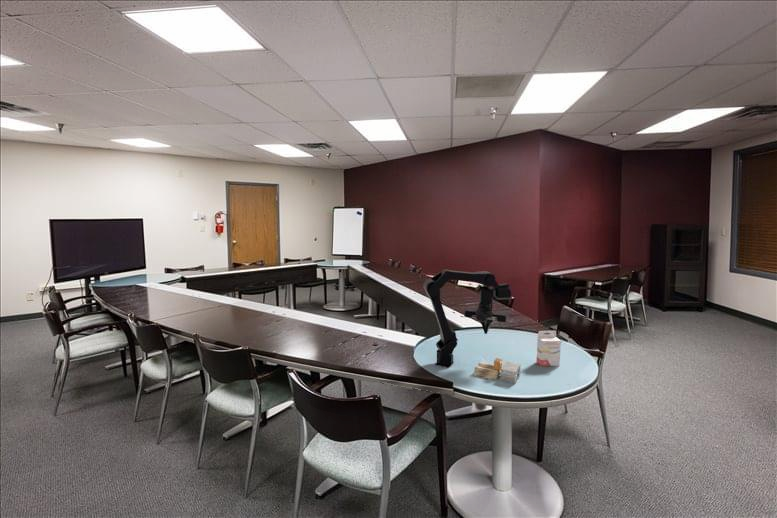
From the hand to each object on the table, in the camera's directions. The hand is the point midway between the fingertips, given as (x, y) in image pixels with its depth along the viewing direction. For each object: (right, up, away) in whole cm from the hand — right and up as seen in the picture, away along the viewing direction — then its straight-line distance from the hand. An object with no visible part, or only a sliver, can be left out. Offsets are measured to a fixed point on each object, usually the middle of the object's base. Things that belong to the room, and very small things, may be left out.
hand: (485, 333), depth 171 cm
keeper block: (+6, -15, -15) cm, 23 cm away
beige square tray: (-2, -15, -11) cm, 18 cm away
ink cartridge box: (+27, -13, -3) cm, 30 cm away
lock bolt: (+4, -14, -14) cm, 20 cm away
